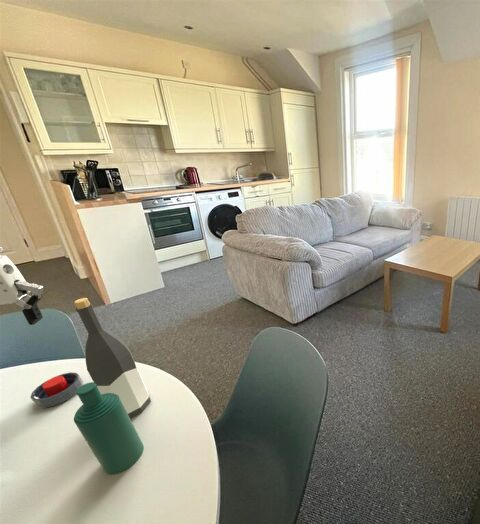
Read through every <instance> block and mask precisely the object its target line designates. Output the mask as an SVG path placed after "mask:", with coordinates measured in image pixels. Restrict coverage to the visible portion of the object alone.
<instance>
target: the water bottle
mask: <svg viewBox="0 0 480 524" xmlns="http://www.w3.org/2000/svg"><path fill="white" fill-rule="evenodd" d="M75 395H76V396H78V398H79V399H80V401H81V403H82V405H81V406H80V407H78V409H77V410H76V412H75V413H74V416H73V422H74V424H75V425H76V427H77V429H78V430H79V432H80V434H81V435H82V437H83V438H84V440H85V442H86V444H87V445H88V447H89V448H90V450H91V452H92V453H93V455H94V457H95V458H96V459H97V461H98V463H99V465H100V466H101V468H102V469H103V471H104V473H105V474H107V475H117V474H120V473H122V472H124V471H126V470H128V469H129V468H131V467H132V466H133V465H135V464H136V462H137V461H138V460H139V459H140V458H141V457H142V455H143V452H144V448H145V447H144V443H143V441H142V440H141V438H140V436H139V434H138V431H137V430H136V428H135V426H134V424H133V421H132V420H131V418H129V416H128V414H127V412H126V410H125V408H124V406H123V404H122V402H121V400H120V398H119V396H118V395H117V394H113V393H106V394H101V393H100V391H99V389H98V387H97V384H95V383H94V382H93V381H92V382H87V383H84V384H82V386H81V387H80V388H79V389H78V390H77V393H76V394H75Z"/></svg>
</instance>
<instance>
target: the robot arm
mask: <svg viewBox="0 0 480 524" xmlns="http://www.w3.org/2000/svg"><path fill="white" fill-rule="evenodd" d="M3 252H4V248H3V247H2V246H0V306H4V305H11V304H15V305H17V306H19V307H20V308H23V309H22V310H21V312H22V314H23V316H24V317H25V320H26V321H27V324H29V325H30V326H34V325H36V324H37V323H38V322H39V321H41V320H42V319H43V314H42V311H41V310H40V308H39V306H38V304H39V302H40V300H41V299H42V297H43V293H44V286H43V285H40V284H36V283H31V282H27V280H26V279H25V278H24V275H22V273H21V272H20V269H19V268H18V267H17V266H16V265H15V264H14V263H13V262H12V260H11V259H10V258H9V257H8V255H3V254H2V253H3ZM1 254H2V255H1ZM30 293H31V295H30Z"/></svg>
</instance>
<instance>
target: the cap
mask: <svg viewBox="0 0 480 524" xmlns="http://www.w3.org/2000/svg"><path fill="white" fill-rule="evenodd" d="M56 376H57V377H56ZM56 376H53V377H54V378H53V377H51V378H49V379H47V380H48V381H47V380H46V382H45V381H44V382H45V383H44V382H43V383H44V384H43V386H42V387H43V389H44V391H45V392H46V394H47V396H48V397H51V396H53V395H56V394H58V393H60V392H62V391H64V390H65V389H67V388H68V387H69V385H68V383H67V381H66V380H65V378H64V377H63V376H58V375H56Z"/></svg>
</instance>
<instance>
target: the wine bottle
mask: <svg viewBox="0 0 480 524" xmlns="http://www.w3.org/2000/svg"><path fill="white" fill-rule="evenodd" d="M74 305H75V311H76V313H78V316H79V318H80V320H81V321H82V324H83V326H84V329H86V332H87V334H88V335H87V337H86V342H85V345H84V346H85V349H84V352H85V353H84V355H85V357H84V358H85V365H86V370H87V373H88V374H89V377H90V378H91V380H92V382H94V383H95V384H97V387H98V389H99V391H100V393H101V394H106V393H113V394H117V395H118V396H119V398H120V400H121V402H122V404H123V406H124V408H125V410H126V412H127V414H128V416H129V418H130V419H131V418H133V417H135V416H138V415H140V414H141V413H143V412H144V410H145V409H146V408H147V407H148V406H149V404H150V403H151V402H152V399H151V396H150V394H149V391H148V388H147V386H146V384H145V382H144V379H143V377H142V375H141V373H140V370H139V368H138V366H137V363H136V361H135V359H134V357H133V354H132V352H131V350H130V348H129V345H127V344H126V342H125V341H124V340H123V339H122V338H121V337H119V336H118V335H116V334H115V333H113V332H112V331H109V330H107V329H105V328H104V327H103V326H102V324H101V322H100V320H99V318H98V316H97V314H96V311H95V310H94V308H93V304H92V302H90V301H89V298H88V297H81V298H79V299H76V300H74Z"/></svg>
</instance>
